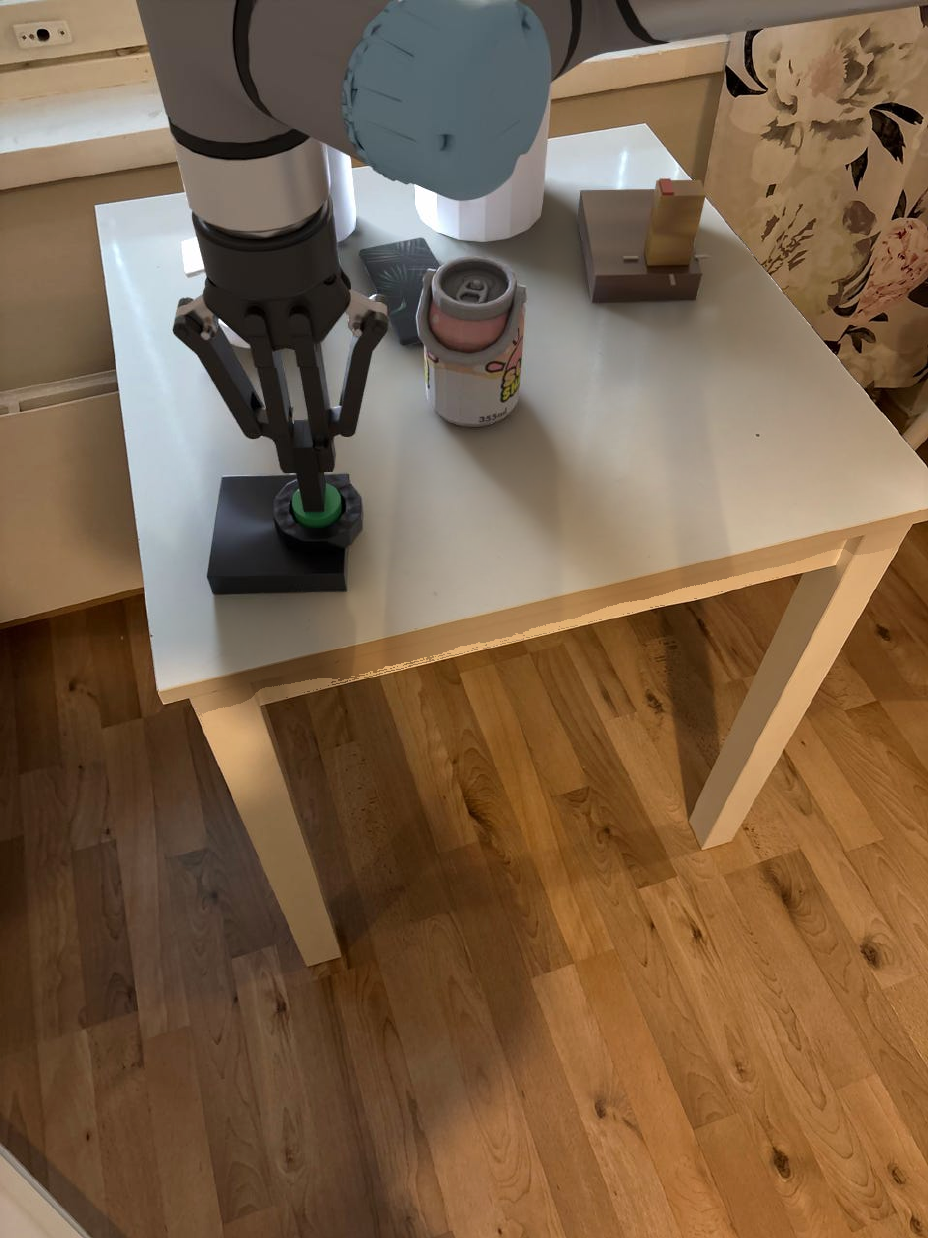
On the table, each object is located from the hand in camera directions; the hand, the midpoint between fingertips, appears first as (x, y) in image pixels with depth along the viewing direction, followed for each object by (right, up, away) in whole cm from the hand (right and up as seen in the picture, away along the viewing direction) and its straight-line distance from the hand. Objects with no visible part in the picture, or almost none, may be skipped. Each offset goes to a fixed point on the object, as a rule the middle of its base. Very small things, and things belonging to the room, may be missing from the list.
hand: (315, 497), depth 70 cm
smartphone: (+6, +22, +21) cm, 31 cm away
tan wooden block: (+30, +25, +20) cm, 44 cm away
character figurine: (-9, +19, +19) cm, 29 cm away
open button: (0, -1, +2) cm, 2 cm away
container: (+13, +34, +30) cm, 47 cm away
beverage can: (+12, +10, +13) cm, 20 cm away
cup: (-4, +32, +28) cm, 42 cm away
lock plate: (+28, +27, +25) cm, 46 cm away
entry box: (-3, -3, +4) cm, 6 cm away
